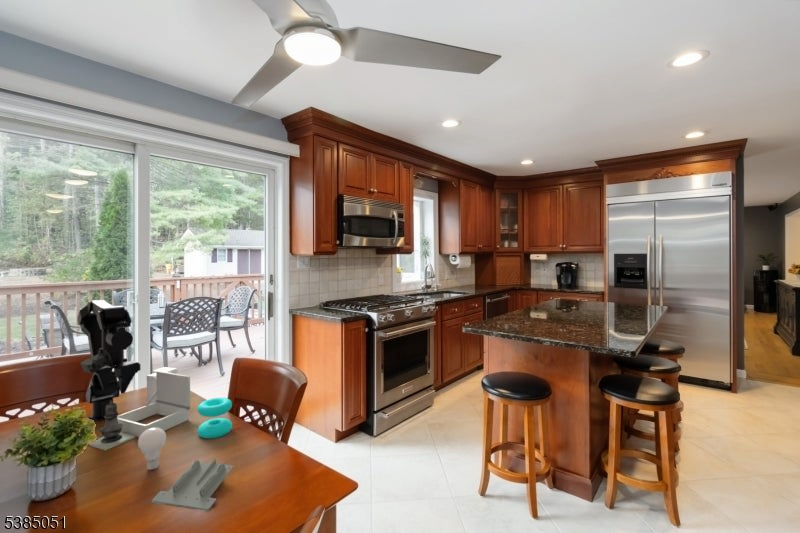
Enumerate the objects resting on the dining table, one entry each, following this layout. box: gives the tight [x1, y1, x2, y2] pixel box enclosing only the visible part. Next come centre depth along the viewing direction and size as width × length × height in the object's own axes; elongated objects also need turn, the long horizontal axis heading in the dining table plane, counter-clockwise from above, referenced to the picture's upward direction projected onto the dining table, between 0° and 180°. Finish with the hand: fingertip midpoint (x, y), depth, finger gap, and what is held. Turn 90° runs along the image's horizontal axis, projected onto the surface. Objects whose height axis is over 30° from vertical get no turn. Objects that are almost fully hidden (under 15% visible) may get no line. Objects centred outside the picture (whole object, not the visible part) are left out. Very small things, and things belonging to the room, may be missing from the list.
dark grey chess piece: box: [98, 400, 123, 443], centre depth 117 cm, size 6×6×12 cm
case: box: [117, 371, 191, 438], centre depth 129 cm, size 16×16×15 cm
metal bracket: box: [151, 458, 234, 512], centre depth 93 cm, size 14×6×15 cm
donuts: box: [197, 397, 233, 439], centre depth 123 cm, size 10×10×10 cm
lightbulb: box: [137, 427, 167, 471], centre depth 102 cm, size 6×6×11 cm
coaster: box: [88, 432, 136, 451], centre depth 117 cm, size 8×8×1 cm
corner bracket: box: [146, 366, 178, 404], centre depth 148 cm, size 11×11×12 cm
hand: (113, 391), depth 127 cm, fingers open, 9 cm apart
